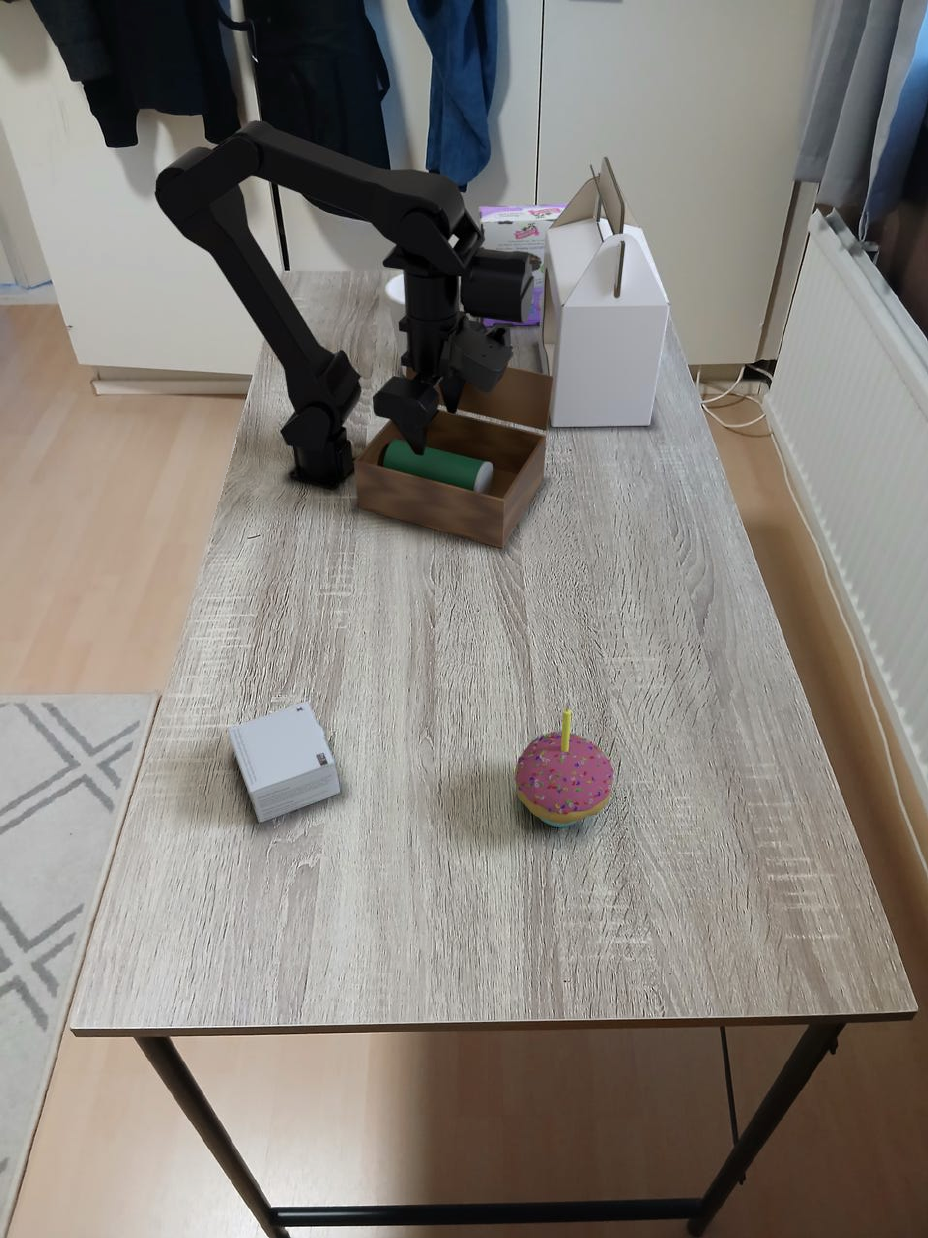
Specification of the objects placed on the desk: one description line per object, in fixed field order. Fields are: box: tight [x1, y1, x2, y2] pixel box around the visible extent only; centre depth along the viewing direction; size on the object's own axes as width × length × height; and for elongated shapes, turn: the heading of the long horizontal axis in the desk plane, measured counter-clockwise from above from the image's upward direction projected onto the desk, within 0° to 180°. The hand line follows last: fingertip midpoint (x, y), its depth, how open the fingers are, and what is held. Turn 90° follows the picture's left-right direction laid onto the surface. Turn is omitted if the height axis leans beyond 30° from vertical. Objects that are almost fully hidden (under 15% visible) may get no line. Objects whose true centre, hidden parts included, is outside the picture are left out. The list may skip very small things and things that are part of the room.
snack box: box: [353, 408, 548, 549], centre depth 112 cm, size 19×14×7 cm
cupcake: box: [514, 701, 615, 828], centre depth 79 cm, size 9×8×12 cm
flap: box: [405, 365, 554, 432], centre depth 111 cm, size 19×7×1 cm
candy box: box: [477, 203, 569, 328], centre depth 139 cm, size 14×6×16 cm, turn 93°
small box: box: [227, 700, 341, 824], centre depth 83 cm, size 8×8×5 cm
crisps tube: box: [383, 439, 493, 495], centre depth 113 cm, size 5×5×12 cm
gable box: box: [538, 156, 671, 428], centre depth 122 cm, size 22×13×28 cm, turn 1°
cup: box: [384, 273, 407, 378], centre depth 129 cm, size 10×10×13 cm
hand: (436, 432), depth 109 cm, fingers open, 9 cm apart
